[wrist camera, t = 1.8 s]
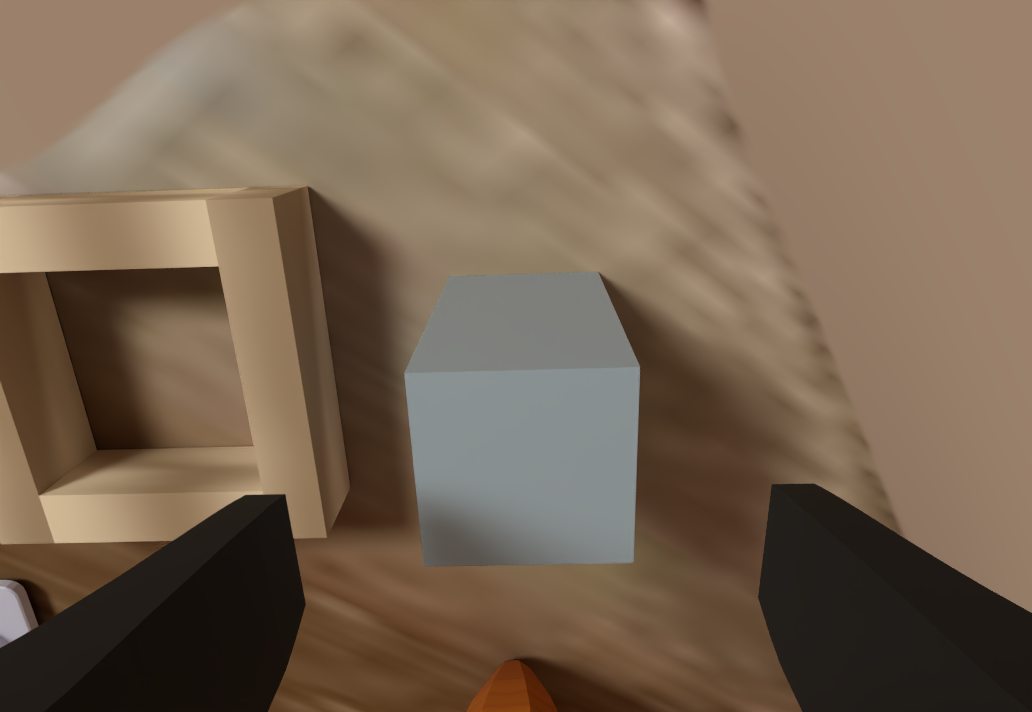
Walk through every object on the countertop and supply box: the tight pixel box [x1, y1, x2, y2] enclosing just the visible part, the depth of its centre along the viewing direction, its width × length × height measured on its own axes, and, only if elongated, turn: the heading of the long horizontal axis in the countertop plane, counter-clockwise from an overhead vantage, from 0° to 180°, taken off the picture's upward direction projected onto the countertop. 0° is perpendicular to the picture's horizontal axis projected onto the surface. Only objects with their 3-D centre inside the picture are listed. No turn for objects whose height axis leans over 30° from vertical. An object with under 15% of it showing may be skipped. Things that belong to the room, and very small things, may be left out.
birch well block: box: [0, 186, 350, 544], centre depth 17 cm, size 9×9×2 cm
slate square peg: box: [404, 272, 640, 567], centre depth 15 cm, size 4×4×7 cm
